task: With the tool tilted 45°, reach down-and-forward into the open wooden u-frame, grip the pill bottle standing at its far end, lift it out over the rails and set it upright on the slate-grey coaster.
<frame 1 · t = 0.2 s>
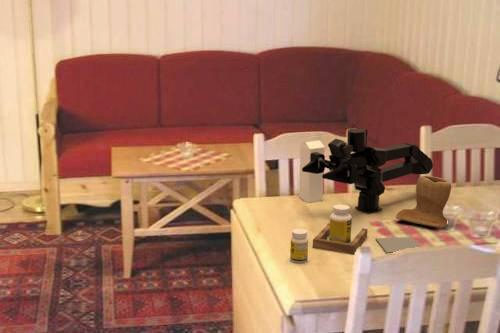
hand: (312, 173, 226), 17 cm above the table, tool horizontal, fingers open, 9 cm apart
brown boot: (424, 223, 234), on the table
open wooden u-frame: (339, 242, 216), on the table
pill bottle: (339, 243, 216), on the table
coaster: (399, 246, 214), on the table
milk: (310, 199, 256), on the table
supplement bottle: (298, 260, 204), on the table
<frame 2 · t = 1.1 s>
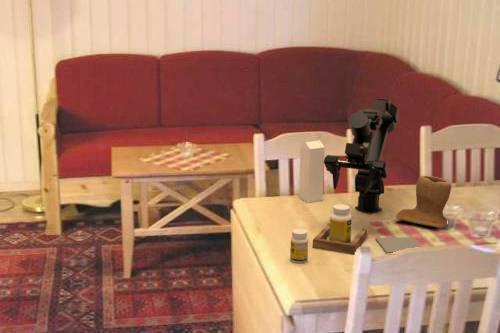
hand: (349, 190, 220), 14 cm above the table, tool tilted 45°, fingers open, 9 cm apart
nothing on the table moved.
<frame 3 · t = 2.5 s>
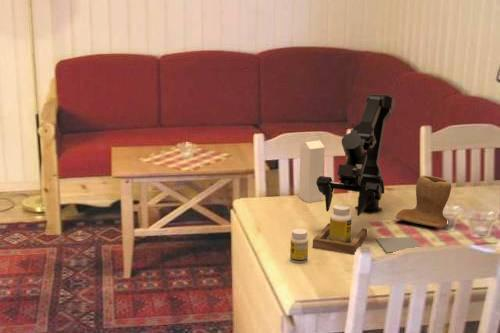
hand: (342, 213, 215), 9 cm above the table, tool tilted 45°, fingers open, 9 cm apart
nothing on the table moved.
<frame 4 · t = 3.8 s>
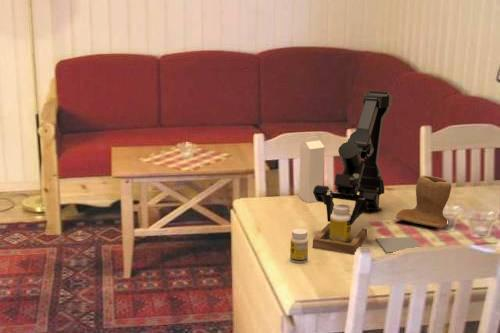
hand: (339, 222, 213), 7 cm above the table, tool tilted 45°, fingers closed on pill bottle, 6 cm apart
pill bottle: (339, 243, 216), on the table, touching gripper
everything else where it was.
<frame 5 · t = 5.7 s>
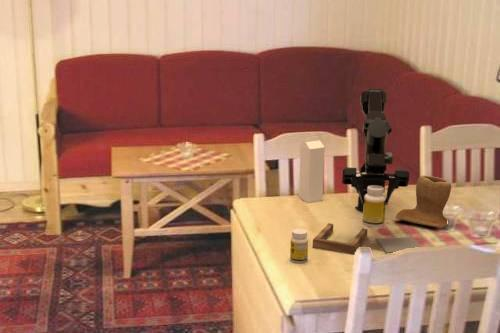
hand: (374, 203, 209), 13 cm above the table, tool tilted 45°, fingers closed on pill bottle, 6 cm apart
pill bottle: (373, 224, 212), point 6 cm above the table, touching gripper
everything else where it was.
when the fingers open (8 cm above the table, at t = 7.6 s): pill bottle stays where it is, resting on coaster.
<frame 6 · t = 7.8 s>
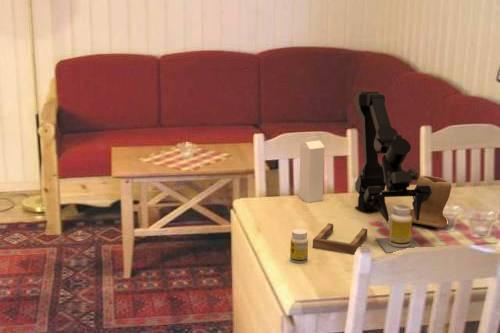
hand: (402, 220, 210), 8 cm above the table, tool tilted 45°, fingers open, 8 cm apart
pill bottle: (399, 244, 214), resting on coaster
everything else where it was.
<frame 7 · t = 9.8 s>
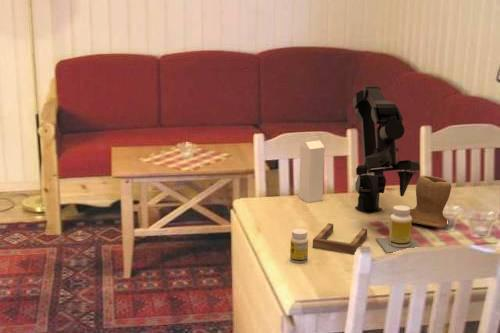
hand: (388, 197, 220), 12 cm above the table, tool tilted 20°, fingers open, 9 cm apart
nothing on the table moved.
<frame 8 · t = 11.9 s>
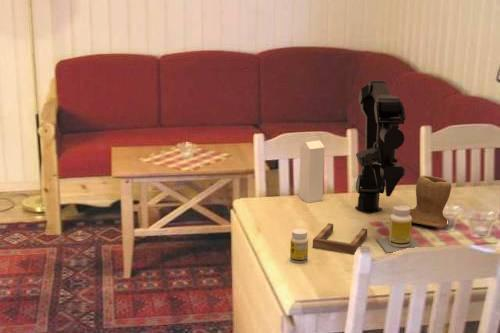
hand: (383, 191, 221), 13 cm above the table, tool pointing down, fingers open, 9 cm apart
nothing on the table moved.
at the end: pill bottle 0.2 cm from the coaster (horizontally); pill bottle tilted 0°; the gripper is holding nothing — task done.
